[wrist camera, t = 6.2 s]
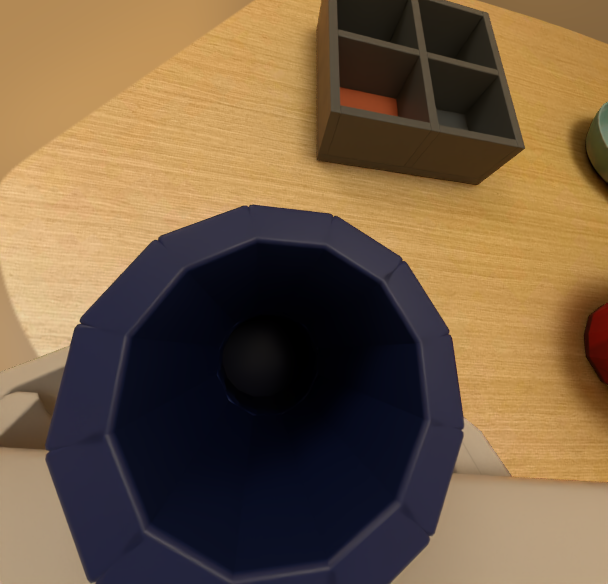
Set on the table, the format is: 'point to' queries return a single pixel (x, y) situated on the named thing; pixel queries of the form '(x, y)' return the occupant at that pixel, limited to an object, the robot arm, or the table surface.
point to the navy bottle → (257, 409)
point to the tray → (413, 89)
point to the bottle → (598, 341)
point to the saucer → (599, 142)
